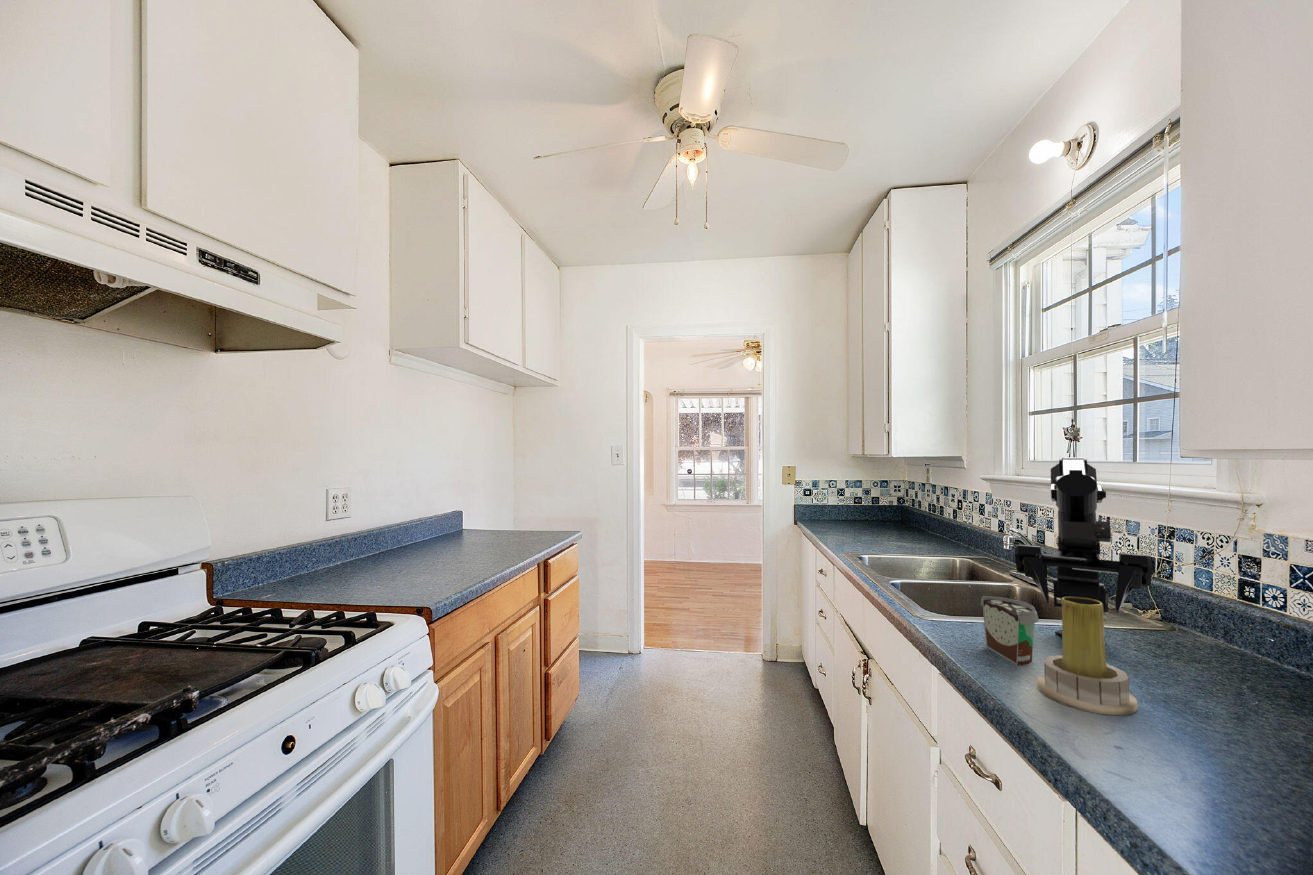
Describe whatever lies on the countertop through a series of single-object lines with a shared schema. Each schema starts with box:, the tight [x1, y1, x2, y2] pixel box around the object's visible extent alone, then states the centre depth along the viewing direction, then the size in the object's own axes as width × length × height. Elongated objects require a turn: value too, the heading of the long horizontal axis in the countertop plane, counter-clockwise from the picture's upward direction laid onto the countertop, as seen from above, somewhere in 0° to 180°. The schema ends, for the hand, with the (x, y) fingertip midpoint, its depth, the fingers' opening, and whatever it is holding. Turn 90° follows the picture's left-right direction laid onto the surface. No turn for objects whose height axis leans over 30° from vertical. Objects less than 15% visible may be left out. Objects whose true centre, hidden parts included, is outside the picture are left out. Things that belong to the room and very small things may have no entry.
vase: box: [1061, 596, 1107, 679], centre depth 84 cm, size 6×6×14 cm
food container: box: [980, 595, 1040, 666], centre depth 101 cm, size 12×6×10 cm, turn 179°
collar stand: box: [1037, 655, 1138, 716], centre depth 84 cm, size 12×12×4 cm
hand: (1081, 605), depth 88 cm, fingers open, 9 cm apart
